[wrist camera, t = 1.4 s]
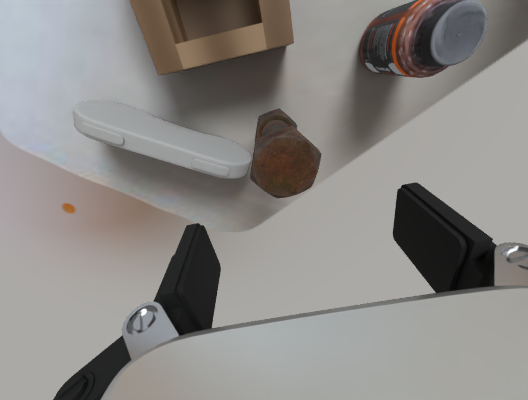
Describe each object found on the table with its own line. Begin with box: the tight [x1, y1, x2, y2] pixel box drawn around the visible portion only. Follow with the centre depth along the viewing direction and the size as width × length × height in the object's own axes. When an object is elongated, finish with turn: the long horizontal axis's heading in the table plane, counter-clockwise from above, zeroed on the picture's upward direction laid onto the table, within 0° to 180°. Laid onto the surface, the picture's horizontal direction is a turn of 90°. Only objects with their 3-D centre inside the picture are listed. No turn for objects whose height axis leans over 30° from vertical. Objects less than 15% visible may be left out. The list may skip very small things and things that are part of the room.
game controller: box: [73, 101, 252, 179], centre depth 28 cm, size 20×2×8 cm, turn 70°
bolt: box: [250, 109, 321, 198], centre depth 24 cm, size 6×5×15 cm
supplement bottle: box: [360, 0, 488, 78], centre depth 22 cm, size 6×6×11 cm
